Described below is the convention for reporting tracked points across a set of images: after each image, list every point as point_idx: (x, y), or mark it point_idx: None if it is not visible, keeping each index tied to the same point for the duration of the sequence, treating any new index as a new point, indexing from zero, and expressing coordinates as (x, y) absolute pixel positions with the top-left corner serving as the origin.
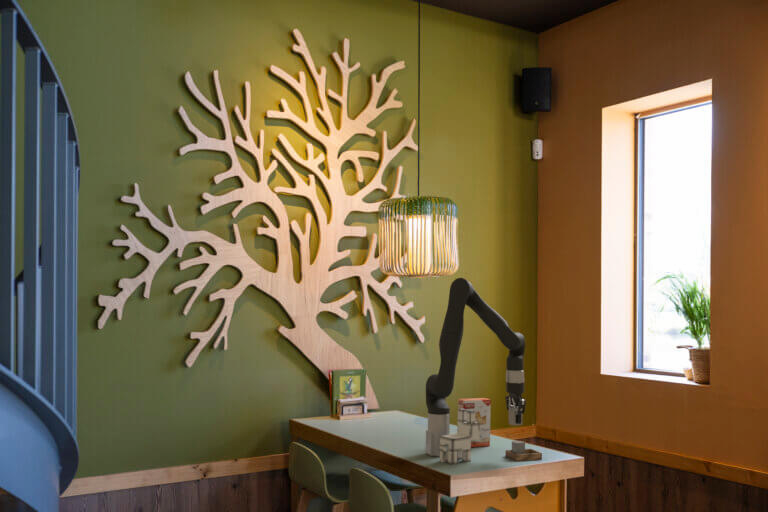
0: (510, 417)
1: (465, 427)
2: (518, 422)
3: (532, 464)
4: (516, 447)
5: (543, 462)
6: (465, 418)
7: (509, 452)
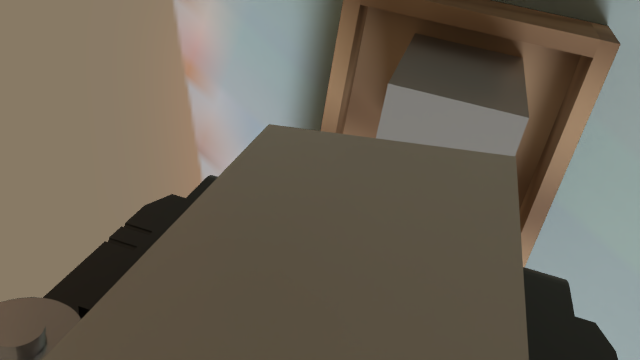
0: (413, 243)
1: None
2: (169, 205)
3: (186, 24)
4: (397, 66)
5: (219, 160)
6: None
7: (509, 18)
